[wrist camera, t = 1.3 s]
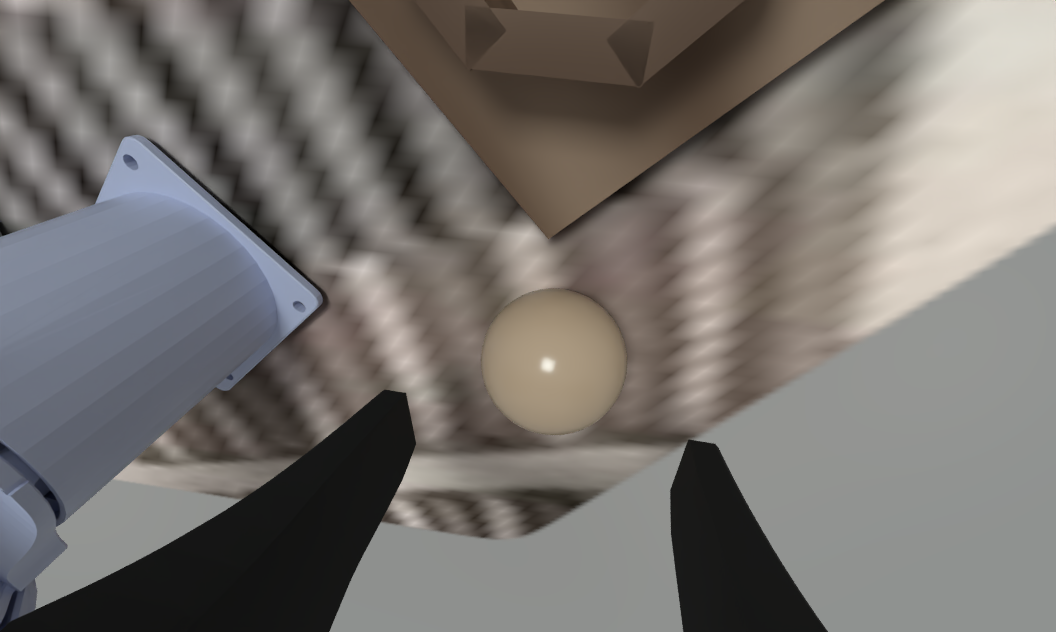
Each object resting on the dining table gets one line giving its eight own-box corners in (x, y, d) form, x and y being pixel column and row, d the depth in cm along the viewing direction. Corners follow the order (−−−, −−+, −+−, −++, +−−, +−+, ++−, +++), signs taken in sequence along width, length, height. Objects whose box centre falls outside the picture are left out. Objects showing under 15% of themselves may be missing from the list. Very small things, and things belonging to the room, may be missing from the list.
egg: (552, 384, 17) (532, 483, 14) (475, 305, 16) (428, 391, 12) (652, 335, 15) (660, 437, 11) (574, 237, 14) (553, 318, 10)
